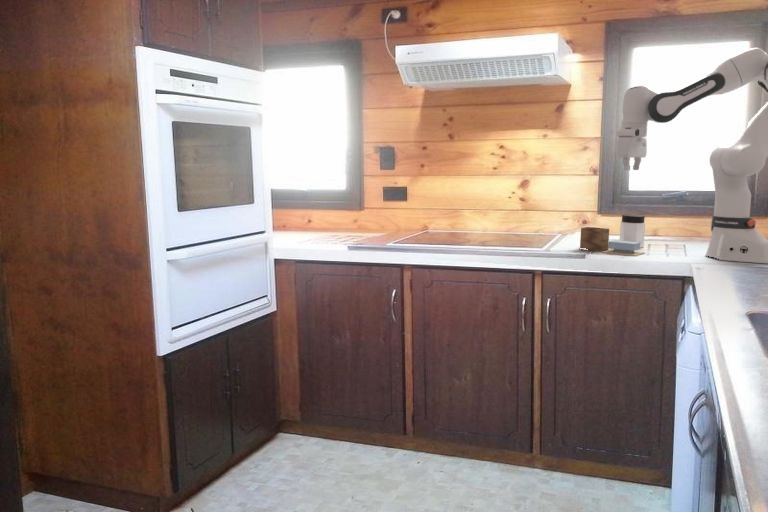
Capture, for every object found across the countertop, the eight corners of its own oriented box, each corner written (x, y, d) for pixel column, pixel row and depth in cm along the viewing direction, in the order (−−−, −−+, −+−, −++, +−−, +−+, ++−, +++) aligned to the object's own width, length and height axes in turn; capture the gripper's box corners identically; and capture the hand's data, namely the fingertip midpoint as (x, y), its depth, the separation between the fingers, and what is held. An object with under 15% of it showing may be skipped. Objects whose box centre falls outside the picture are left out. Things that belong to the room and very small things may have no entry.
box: (608, 250, 258) (609, 228, 257) (602, 252, 254) (604, 229, 253) (585, 248, 264) (586, 226, 262) (579, 249, 259) (580, 228, 258)
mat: (644, 253, 252) (644, 252, 252) (636, 256, 245) (636, 255, 245) (611, 250, 259) (611, 249, 259) (602, 252, 252) (602, 251, 252)
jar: (616, 246, 268) (618, 215, 266) (621, 244, 275) (623, 213, 273) (641, 248, 263) (643, 216, 262) (645, 246, 271) (647, 215, 269)
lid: (639, 252, 251) (640, 242, 251) (633, 254, 247) (634, 244, 246) (614, 249, 257) (614, 240, 257) (608, 251, 253) (608, 241, 252)
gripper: (635, 132, 266) (632, 169, 268) (614, 131, 250) (612, 170, 252) (652, 132, 262) (649, 170, 264) (632, 131, 246) (630, 171, 248)
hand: (631, 170), depth 258 cm, fingers open, 8 cm apart
